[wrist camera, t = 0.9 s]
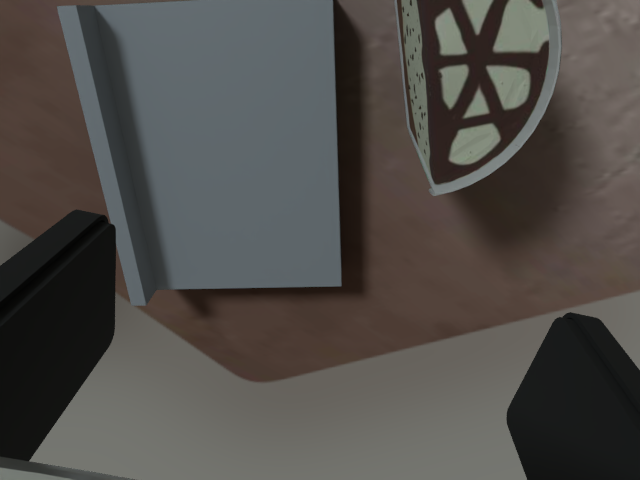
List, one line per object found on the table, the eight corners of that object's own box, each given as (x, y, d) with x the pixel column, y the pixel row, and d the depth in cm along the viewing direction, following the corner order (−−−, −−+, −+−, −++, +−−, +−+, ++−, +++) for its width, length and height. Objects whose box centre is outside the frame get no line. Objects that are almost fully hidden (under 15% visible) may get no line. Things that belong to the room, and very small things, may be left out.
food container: (504, 136, 31) (570, 186, 22) (409, 151, 32) (435, 206, 23) (500, -87, 26) (583, -137, 17) (387, -63, 27) (411, -100, 18)
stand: (333, -5, 28) (331, -8, 24) (341, 265, 36) (341, 302, 31) (100, 7, 29) (56, 6, 25) (157, 269, 37) (131, 305, 32)
